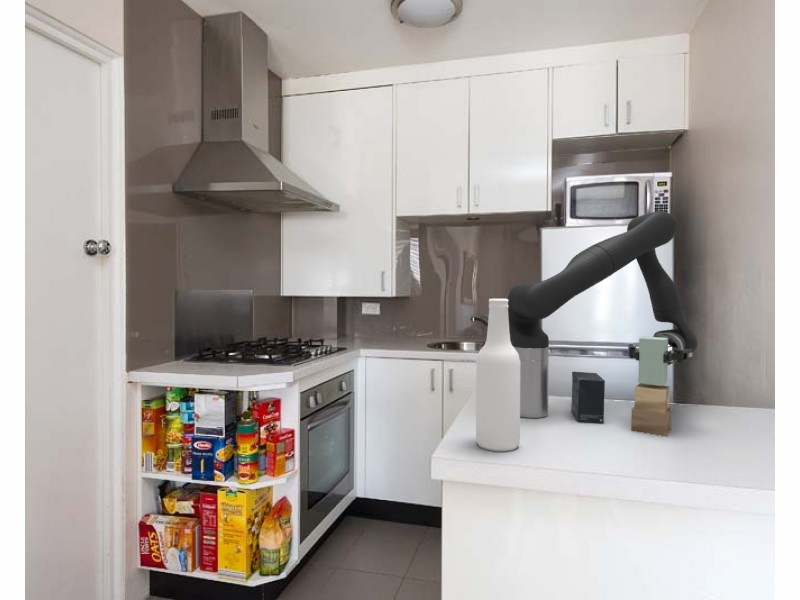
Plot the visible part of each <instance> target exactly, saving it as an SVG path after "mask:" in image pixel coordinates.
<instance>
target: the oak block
mask: <svg viewBox="0 0 800 600" xmlns="http://www.w3.org/2000/svg"><path fill="white" fill-rule="evenodd" d="M669 407H670V386H669V385H664V386H662V385H653V384H644V383H638V384H637V385H636V386H635V387H634V406H633V408H634V409H636V410H643V411H650V412H657V413H664V414H665V412H666V411H667V410H668V409H669Z"/></svg>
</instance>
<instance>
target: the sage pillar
mask: <svg viewBox="0 0 800 600" xmlns="http://www.w3.org/2000/svg"><path fill="white" fill-rule="evenodd" d="M638 348H639V361H638V384H640V383H644V384H653V385H662V386H666V384H667V383H668V371H669V370H668V366H669V365H668V363H663V354H664V353H665V352H666V351H667V350H668V338H662V337H653V336H642V337H639V338H638Z"/></svg>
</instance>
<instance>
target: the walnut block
mask: <svg viewBox="0 0 800 600" xmlns="http://www.w3.org/2000/svg"><path fill="white" fill-rule="evenodd" d="M672 410H673V409H672V407H670V406H669V409H668V410H667V411H666V412H665V414H664V413H657V412H650V411H643V410H636V409H634V407H632V408H631V428H630V430H631V432H635V431H636V432H637V433H641V432H643V433H642V434H647V433H650V434H649V435H653V434H655V435H654V436H659V435H661V436H660V437H665V436H666V438H667V437H668V435H669V433H670V432H671V430H672ZM669 431H670V432H669Z"/></svg>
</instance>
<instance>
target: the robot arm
mask: <svg viewBox="0 0 800 600" xmlns="http://www.w3.org/2000/svg"><path fill="white" fill-rule="evenodd" d="M677 230H678V221H677V219H676V218H675V217H674V216H673V214H672V213H669V212H667V211H663V210H662V211H661V210H659V211H658V210H657V211H652V212H649V213H646V214H642V215H639V216H636V217H634V218H632V219H631V220H630V221H629V222H628V224H627V228H626V231H625V232H623V233H619V234H617V235H613V236H611V237H609V238H606V239H604V240H601V241H598V242H596V243H594V244H592V245H591V246H588V247H587V248H585V249H583V250H582V251H580V252H579V253H577V254H576V255H575V256H574V257H572V258H571V260H569V261H568V264H567V265H566V266H565V267H564V269H563V270H561V271H560V272H559V273H557V274H555V275H553V276H551V277H548V278H547V279H545V280H542V281H538V282H522V283H521V282H520V283H517V284H516V285H514V286H512V288H511V289H510V291H509V292H508V296H507V299H508V300H509V302H508V305H509V307H508V318H509V332H510V341H511V344H512V346H513V347H514V348H515V350H516V351H517V353H518V354H519V358H520V418H529V419H533V418H534V419H537V418H544V417H547V416H549V366H550V365H549V363H550V362H549V361H550V360H549V359H550V358H549V355H550V354H549V353H550V352H549V351H550V350H549V349H550V347H549V344H550V340H549V339H550V338H549V336H548V334H547V333H546V332H545V331H544V330H543V329H542V327H541V323H540V322H541V320H543V319H546V318H548V317H550V316H551V315H552V314H554V313H556V311H558V310H559V309H560V308H562V307H563V306H564V305H565V304H566V303H568V302H569V301H570V300H572V299H573V298H575V297H576V296H578V295H579V294H582V293H584V292H586V291H587V290H588V289H589V290H590V288H592V287H594V286H595V285H598V283H601V282H602V281H604V280H606V279H607V278H609V277H611V276H612V275H614V274H615V273H616V272H618V271H620V270H622V269H623V268H624V267H626V266H627V265H629V264H631V263H632V262H633V261H634V260H636V262H637V264H638V267H639V268H640V272H641V274H642V276H643V280H644V282H645V283H646V287H647V288H646V289H647V291H648V295H649V300H650V303H651V308H652V312H653V316H654V320H655V321H656V322H658V323H670V324H673V325H674V326H676V327H677V328H672V329H666V330H665V329H663V330H659V331H656V332H655V333H654V334H653V336H652V337H662V338H668V350H667V351H666V352H665V353H664V354H663V363H668V366H670V365H672V364H674V363H675V362H677V363H685V362H689V361H692V360H693V353H694V352H695V351H696V350H697V347H698V339H697V337H696V334H695V332H693V330H692V328H691V326H690V324H689V323H688V320H687V319H686V316H685V314H684V311H683V307H682V302H681V297H680V294H679V291H678V288H677V285H676V283H675V282H674V280H673V279H672V278H671V277H670V275H669V274H668V273H667V271H666V270H665V269H664V268H663V266H662V264H661V263H660V260H659V259H658V255H657V252H656V248H659V247H661V246H664V245H666V244H668V243H670V242H671V241H672V240H673V239H674V237H675V235H676V234H677ZM627 345H628V346H627V356H628V358H629V359H635V361H638V362H639V347H637V345H634V344H632V343H630V344H627Z"/></svg>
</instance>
